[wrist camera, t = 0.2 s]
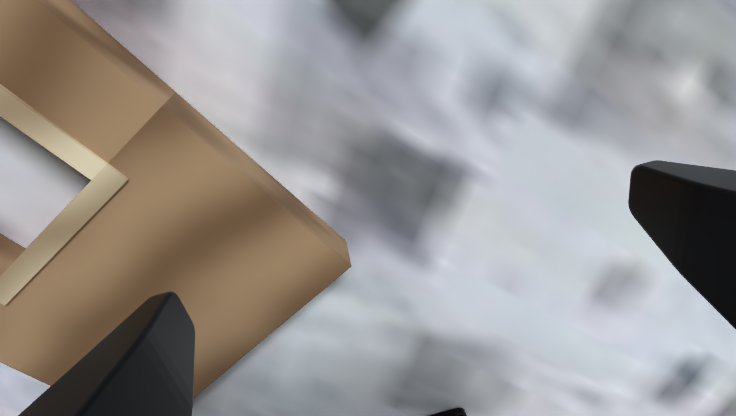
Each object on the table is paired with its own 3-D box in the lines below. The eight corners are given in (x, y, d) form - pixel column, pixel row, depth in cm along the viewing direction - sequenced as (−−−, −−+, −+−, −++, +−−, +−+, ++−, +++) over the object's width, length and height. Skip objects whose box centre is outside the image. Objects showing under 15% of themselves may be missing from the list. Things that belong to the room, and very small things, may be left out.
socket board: (345, 241, 26) (351, 268, 23) (161, 398, 29) (150, 436, 26) (-74, -126, 16) (-137, -144, 14) (-280, 170, 19) (-360, 198, 17)
